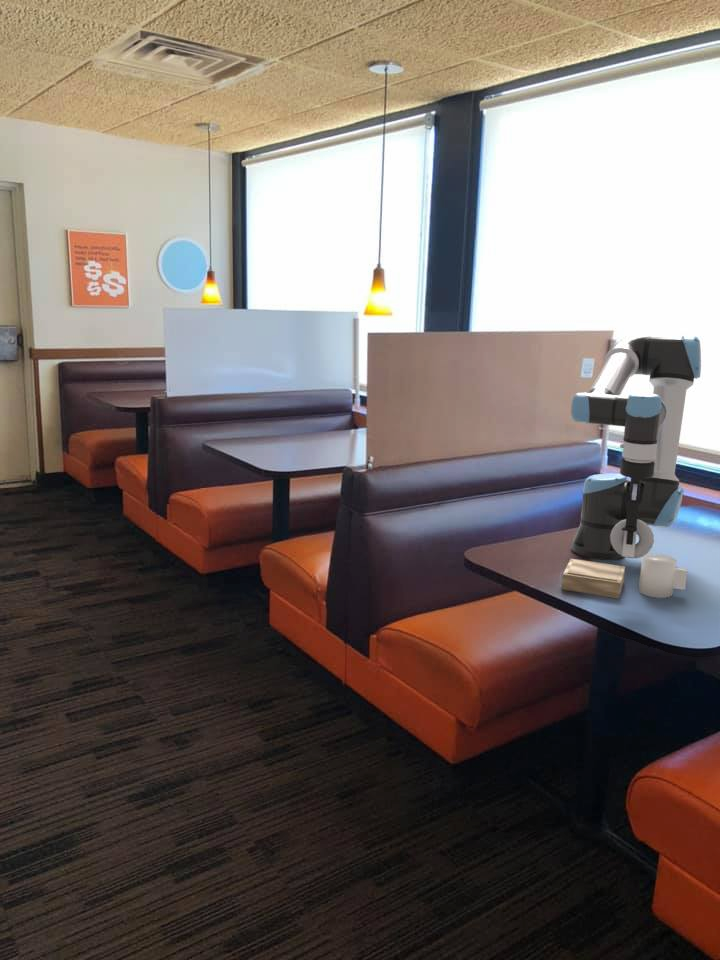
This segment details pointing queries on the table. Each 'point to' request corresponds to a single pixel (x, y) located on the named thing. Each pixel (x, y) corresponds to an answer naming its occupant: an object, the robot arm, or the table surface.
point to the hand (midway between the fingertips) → (628, 553)
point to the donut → (641, 547)
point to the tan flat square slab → (593, 578)
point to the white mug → (660, 576)
